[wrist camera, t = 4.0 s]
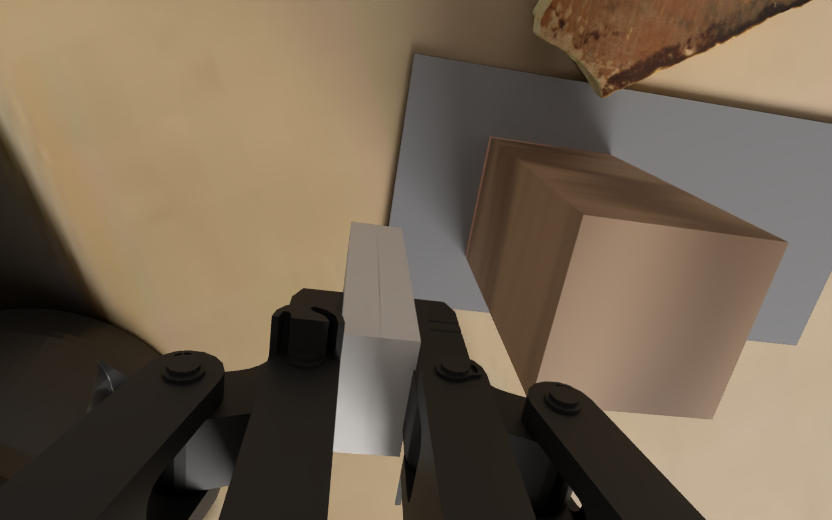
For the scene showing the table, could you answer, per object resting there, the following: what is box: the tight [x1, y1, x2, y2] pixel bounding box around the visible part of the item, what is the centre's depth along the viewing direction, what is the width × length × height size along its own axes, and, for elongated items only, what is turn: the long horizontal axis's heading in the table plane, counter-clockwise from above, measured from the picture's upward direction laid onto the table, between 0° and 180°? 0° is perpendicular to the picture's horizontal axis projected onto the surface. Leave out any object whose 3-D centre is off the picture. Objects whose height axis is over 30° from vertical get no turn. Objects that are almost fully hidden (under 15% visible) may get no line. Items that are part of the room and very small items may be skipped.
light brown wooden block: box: [465, 137, 789, 419], centre depth 21 cm, size 6×6×12 cm
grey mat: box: [388, 53, 832, 345], centre depth 28 cm, size 24×12×1 cm, turn 81°
